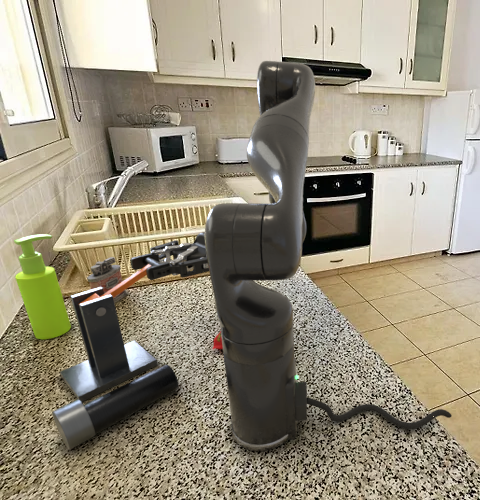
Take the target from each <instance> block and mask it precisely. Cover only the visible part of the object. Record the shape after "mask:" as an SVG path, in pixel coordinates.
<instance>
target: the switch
mask: <svg viewBox="0 0 480 500" xmlns="http://www.w3.org/2000/svg"><path fill="white" fill-rule="evenodd" d="M143 263H144V264H145V265H146V266H145V267H143V268H142V269H138V270H136V272H134V273H133V274H131V275H130V276H128V277H127V278H126V279H124V280H122V281H123V282H121V283H120V284H118V285H117V286H115V287H114V288H112V289H111V290H109V291H108V292H106V293H105V294H103V295H102V296H98V295H97V294H96V293H95V294H93V295H92V296H90V297H89V298H87V299H86V300H84V301H83V302H81V303H80V304H82V303H85V302H88V301H91V300H94V299H97V298H100V297H103V296H106V295H109V294H111V295H112V296H113V298H114V297H115V296H117V295H118V294H119V293H121V292H122V291H124V290H127V289H128V288H130V287H132V286H133V285H134V284H136V283H137V282H139V281H140V280H141V279H143V278H144V277H147V272H146V269H147V268H148V267H151V266H155V265H158V264H161V263H160V262H158V261H156V260H154V259H152V258H150V257H145V258H144V259H143Z"/></svg>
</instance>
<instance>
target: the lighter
mask: <svg viewBox="0 0 480 500" xmlns="http://www.w3.org/2000/svg"><path fill="white" fill-rule="evenodd" d="M115 263H116V258H115V257H114V256H110V257H107V258H106V259H104V260H103V261H96V262H95V264H94V265H92V266H91V267H90V272H92V273H91V274H90V275H88V276H87V277H86V279H87V282H89V286H90V287H89V288H90V290H92V289H95V288H98V287H102V288H103V291H104V294H105V293H106V292H108V291H109V290H111V289H112V288H114V287H115V286H117V285H118V284H120V283H121V282H123V281H124V280H123V277H122V273H121V270H122V267H121V265H120V264H115ZM126 290H127V289H125V290H124V291H122V292H121V293H119V294H118V295H117V296H115V297H114V298H113V299H114V304H115V303H117V302H119V301H120V300H121V299H123V298H124V297H125V296H127V291H126Z"/></svg>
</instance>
